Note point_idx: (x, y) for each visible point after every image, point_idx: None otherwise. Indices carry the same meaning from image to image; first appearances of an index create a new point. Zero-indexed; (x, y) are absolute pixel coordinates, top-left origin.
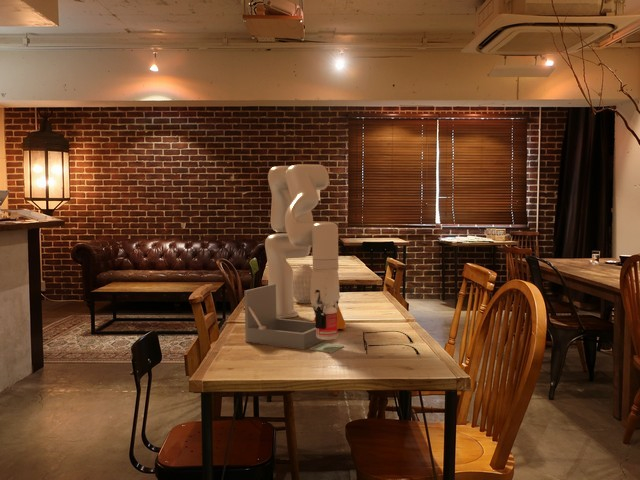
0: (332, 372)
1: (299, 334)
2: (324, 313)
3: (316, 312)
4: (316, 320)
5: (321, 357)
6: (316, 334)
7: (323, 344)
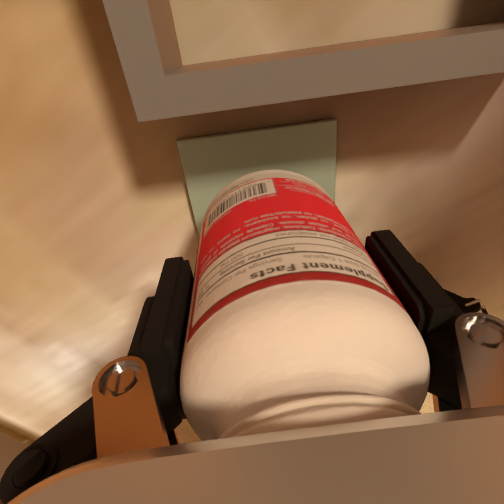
0: (18, 382)
1: (126, 72)
2: (171, 433)
3: (79, 425)
4: (156, 308)
5: (117, 269)
6: (217, 199)
7: (302, 156)
